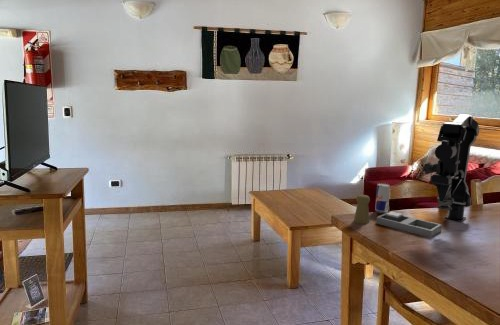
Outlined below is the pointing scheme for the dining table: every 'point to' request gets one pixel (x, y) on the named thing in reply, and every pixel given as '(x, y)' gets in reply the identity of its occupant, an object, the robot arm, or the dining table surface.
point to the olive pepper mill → (362, 209)
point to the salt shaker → (446, 201)
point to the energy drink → (382, 198)
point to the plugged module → (394, 216)
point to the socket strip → (411, 225)
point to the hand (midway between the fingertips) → (445, 198)
